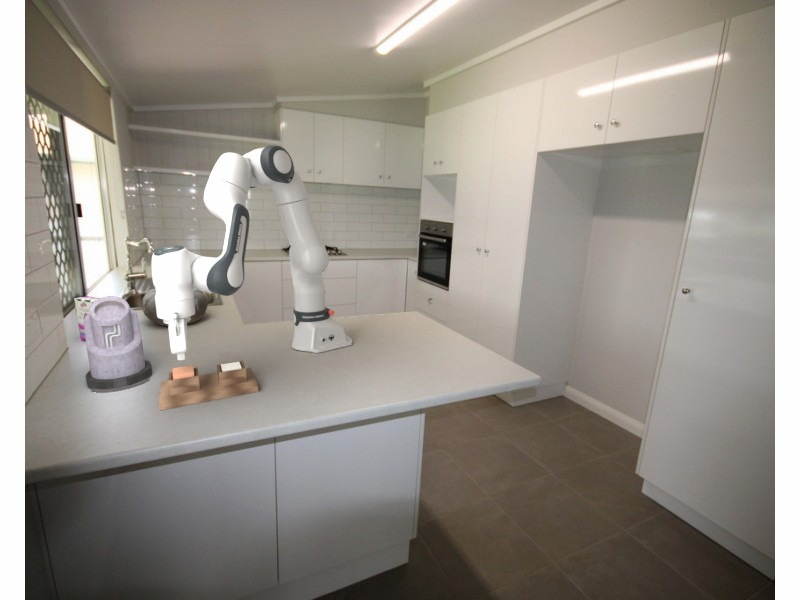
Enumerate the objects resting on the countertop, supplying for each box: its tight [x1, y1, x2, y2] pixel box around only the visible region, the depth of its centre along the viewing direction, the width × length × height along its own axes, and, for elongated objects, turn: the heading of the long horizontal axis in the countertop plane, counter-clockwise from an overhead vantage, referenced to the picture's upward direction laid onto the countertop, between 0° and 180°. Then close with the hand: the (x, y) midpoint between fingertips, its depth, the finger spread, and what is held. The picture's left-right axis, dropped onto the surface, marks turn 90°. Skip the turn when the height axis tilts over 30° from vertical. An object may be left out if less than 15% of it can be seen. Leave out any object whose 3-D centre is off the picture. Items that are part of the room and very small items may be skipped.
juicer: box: [84, 295, 153, 394], centre depth 121 cm, size 30×16×24 cm, turn 35°
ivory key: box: [220, 361, 242, 372], centre depth 115 cm, size 5×5×3 cm
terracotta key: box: [172, 364, 195, 380], centre depth 109 cm, size 5×5×3 cm
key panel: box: [158, 360, 259, 411], centre depth 112 cm, size 24×14×6 cm, turn 118°
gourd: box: [141, 288, 209, 327], centre depth 174 cm, size 25×25×17 cm
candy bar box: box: [73, 295, 101, 342], centre depth 149 cm, size 11×5×16 cm, turn 68°
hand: (181, 358), depth 108 cm, fingers closed
